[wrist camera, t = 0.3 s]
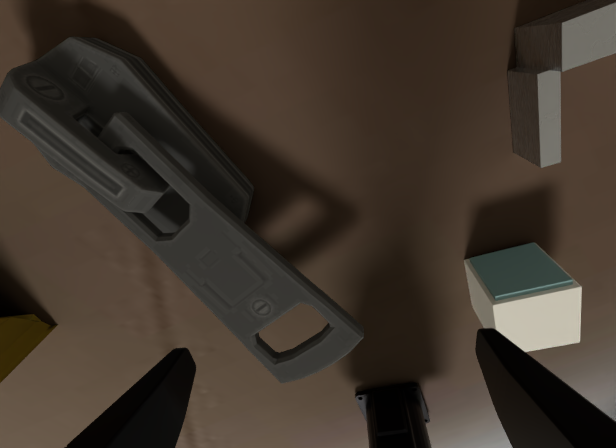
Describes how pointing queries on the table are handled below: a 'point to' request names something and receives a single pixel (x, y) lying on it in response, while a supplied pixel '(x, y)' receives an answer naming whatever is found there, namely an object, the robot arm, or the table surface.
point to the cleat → (553, 72)
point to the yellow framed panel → (19, 339)
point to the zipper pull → (169, 191)
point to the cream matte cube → (525, 297)
